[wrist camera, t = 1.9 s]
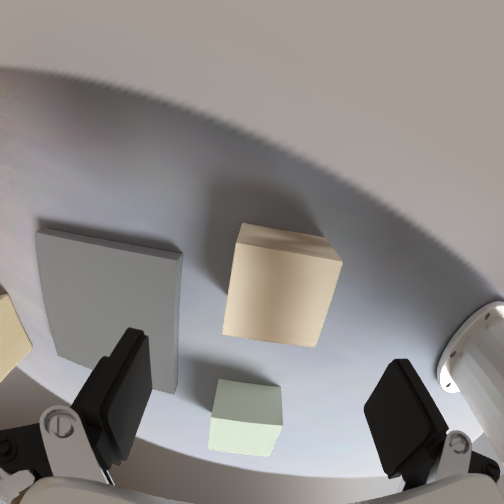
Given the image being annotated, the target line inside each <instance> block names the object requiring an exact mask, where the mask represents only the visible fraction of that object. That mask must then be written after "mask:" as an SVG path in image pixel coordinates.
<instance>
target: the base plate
mask: <svg viewBox="0 0 504 504" xmlns="http://www.w3.org/2000/svg"><path fill="white" fill-rule="evenodd" d="M35 237H36V249H37V258H38V266H39V273H40V280H41V286H42V292H43V297H44V303H45V307H46V312H47V317H48V321H49V325H50V329H51V333H52V337H53V340H54V344H55V348H56V351H57V354H58V356H60V357H63V358H65V359H67V360H70V361H72V362H74V363H77V364H79V365H82V366H84V367H87V368H90V369H92V370H94V368H95V366H96V365H97V363H98V362H99V360H100V359H101V358H102V357H103V356H107V357H109V356H110V354H111V353H112V351H113V350H114V348H115V347H116V345H117V343H118V342H119V340H120V339H121V337H122V336H123V334H124V333H125V331H126V329H127V328H128V327H131V328H135V329H139V330H143V331H144V334H145V335H147V336H148V337H149V350H150V364H151V376H152V389H155V390H158V391H162V392H166V393H170V394H174V393H175V390H176V388H177V385H178V327H179V303H180V285H181V270H182V257H183V253H177V252H171V251H166V250H160V249H155V248H149V247H144V246H138V245H133V244H127V243H122V242H116V241H111V240H106V239H100V238H95V237H90V236H85V235H79V234H74V233H69V232H64V231H59V230H54V229H49V228H44V229H41V230H39V231H37V232H35Z"/></svg>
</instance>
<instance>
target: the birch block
mask: <svg viewBox="0 0 504 504" xmlns="http://www.w3.org/2000/svg"><path fill="white" fill-rule="evenodd" d="M342 264H343V261H342V259H341V258H340V257H339V255H338V254H337V253H336V251H335V250H334V249H333V247H332V246H331V245H330V243H329V242H328V241H327V240H326V238H324V237H319V236H314V235H308V234H303V233H298V232H292V231H287V230H281V229H276V228H270V227H265V226H259V225H253V224H248V223H242V225H241V228H240V232H239V235H238V238H237V241H236V246H235V252H234V258H233V265H232V271H231V278H230V284H229V291H228V297H227V304H226V311H225V318H224V324H223V331H222V334H223V335H229V336H235V337H241V338H247V339H253V340H260V341H267V342H274V343H281V344H289V345H298V346H306V347H315V346H316V344H317V341H318V338H319V335H320V333H321V330H322V327H323V324H324V321H325V318H326V315H327V312H328V309H329V306H330V303H331V300H332V297H333V294H334V291H335V287H336V284H337V281H338V278H339V274H340V271H341V267H342Z"/></svg>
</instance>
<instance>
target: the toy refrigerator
mask: <svg viewBox="0 0 504 504" xmlns="http://www.w3.org/2000/svg"><path fill="white" fill-rule="evenodd" d="M31 349H32V345H31V343H30V341H29V339H28V337H27V335H26V333H25V331H24V329H23V326H22V324H21V322H20V320H19V318H18V316H17V314H16V311H15V309H14V307H13V304H12V302H11V300H10V297H9V295H8V294H2V295H0V382H1V381H2V380H3V379H4V377H6V375H7V374H8V373H9V372H10V371H11V370H12V369H13V368H14V367H15V366H16V365H17V364H18V363H19V362H20V361H21V360H22V359H23V358H24V357H25V356H26V355H27V354H28V353H29V352H30V351H31Z"/></svg>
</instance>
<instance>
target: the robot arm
mask: <svg viewBox="0 0 504 504" xmlns="http://www.w3.org/2000/svg"><path fill="white" fill-rule="evenodd" d="M437 381H438V382H439V384H440V386H441V387H442V389H443V390H445V391H447V392H457V391H460V392H461V394H462V396H463V397H464V399H465V400H466V402H467V403H468V405H469V407H470V408H471V410H472V411H473V413H474V415H475V416H476V418H477V420H478V421H479V423H480V425H481V426H482V428H483V430H484V432H485V433H486V435H487V437H488V439H489V440H490V442H491V444H492V446H493V448H494V450H495V452H496V453H497V455H498V457H499V459H500V461H501V463H502V465H503V467H504V302H502V301H495V302H491V303H489V304H487V305H485V306H483V307H482V308H480V309H479V310H477V311H476V312H475V313H474V314H473V315H472V316H470V317H469V318H468V319H467V320H466V321H465V322H464V323H463V324H462V326H461V327H460V328H459V329H458V331H457V332H456V333H455V334H454V336H453V337H452V339H451V340H450V341H449V343H448V345H447V346H446V348H445V350H444V352H443V354H442V356H441V358H440V361H439V364H438V368H437ZM151 391H152V376H151V364H150V350H149V337H148V336H147V335H145V334H144V331H143V330H139V329H135V328H131V327H128V328H127V329H126V331H125V333H124V334H123V336H122V337H121V339H120V340H119V342H118V343H117V345H116V347H115V348H114V350H113V351H112V353H111V354H110V356H109V357H107V356H103V357H102V358H101V359H100V360H99V362H98V363H97V365H96V366H95V368H94V370H93V371H92V373H91V374H90V376H89V377H88V379H87V381H86V382H85V384H84V386H83V387H82V389H81V390H80V392H79V394H78V395H77V397H76V399H75V400H74V402H73V404H72V406H71V407H70V408H69V407H66V406H53V407H50V408H48V409H47V410H45V411H44V413H43V414H42V415H41V418H40V423H36V424H32V425H27V426H22V427H17V428H12V429H6V430H0V504H10V503H11V501H12V500H13V499H14V498H15V497H17V496H18V495H19V493H18V492H20V491H22V490H23V489H25V488H26V489H28V491H27V492H26V493H25V495H24V497H23V499H22V500H21V502H20V504H191V503H186V502H180V501H174V500H170V499H165V498H161V497H156V496H152V495H148V494H144V493H141V492H137V491H133V490H129V489H125V488H122V487H118V486H115V485H114V483H113V481H112V479H111V477H110V475H109V473H108V471H107V470H109V469H110V468H111V465H112V463H113V464H116V465H118V466H120V464H121V461H122V460H124V461H126V460H127V458H128V455H129V452H130V450H131V447H132V444H133V441H134V438H135V435H136V432H137V430H138V427H139V424H140V421H141V419H142V416H143V413H144V410H145V408H146V405H147V402H148V400H149V397H150V394H151ZM364 414H365V417H366V419H367V422H368V425H369V428H370V431H371V434H372V437H373V440H374V443H375V446H376V449H377V452H378V455H379V458H380V461H381V464H382V467H383V470H384V472H385V473H386V474H387V475H388V478H389V479H392V478H396V477H400V476H401V475H402V477H403V479H402V482H401V484H400V486H399V488H398V490H397V492H396V494H392V495H389V496H384V497H380V498H376V499H371V500H367V501H362V502H356V503H350V504H504V475H503V474H501V475H500V468H499V465H498V464H497V463H496V462H495V461H494V460H492V459H490V458H488V457H486V456H483V455H481V454H479V453H476V452H474V451H472V443H471V440H470V438H469V437H468V436H467V435H466V434H465V433H463V432H461V431H458V430H456V431H451V432H450V433H449V434H448V435H447V434H446V431H447V430H448V429H449V427H448V425H447V424H446V422H445V420H444V418H443V416H442V415H441V413H440V411H439V409H438V408H437V406H436V404H435V402H434V401H433V399H432V397H431V395H430V394H429V392H428V390H427V389H426V387H425V385H424V384H423V382H422V380H421V379H420V377H419V376H418V374H417V372H416V371H415V369H414V368H413V366H412V364H411V363H410V361H409V360H408V359H394V360H393V361H392V362H391V363H389V365H388V367H387V368H386V370H385V372H384V374H383V376H382V377H381V379H380V381H379V382H378V384H377V386H376V387H375V389H374V391H373V392H372V394H371V396H370V397H369V399H368V400H367V402H366V404H365V406H364Z"/></svg>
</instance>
